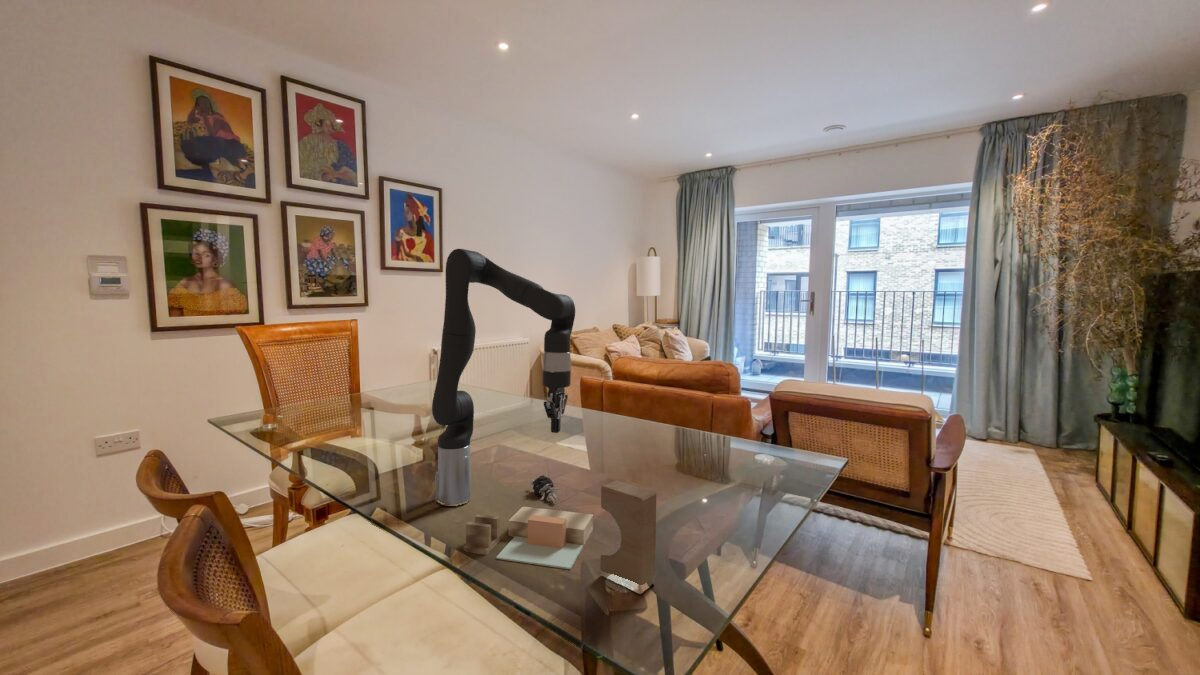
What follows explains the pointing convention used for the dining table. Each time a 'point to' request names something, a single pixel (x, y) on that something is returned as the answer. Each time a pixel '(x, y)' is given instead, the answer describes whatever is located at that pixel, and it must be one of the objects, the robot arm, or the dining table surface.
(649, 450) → the dining table surface
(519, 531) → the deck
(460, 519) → the dining table surface
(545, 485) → the figurine
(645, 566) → the decorative block
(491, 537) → the slotted rack
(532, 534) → the tile
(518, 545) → the mat
